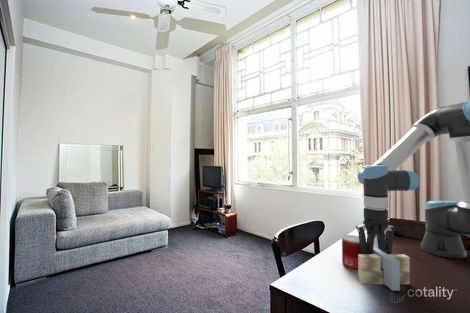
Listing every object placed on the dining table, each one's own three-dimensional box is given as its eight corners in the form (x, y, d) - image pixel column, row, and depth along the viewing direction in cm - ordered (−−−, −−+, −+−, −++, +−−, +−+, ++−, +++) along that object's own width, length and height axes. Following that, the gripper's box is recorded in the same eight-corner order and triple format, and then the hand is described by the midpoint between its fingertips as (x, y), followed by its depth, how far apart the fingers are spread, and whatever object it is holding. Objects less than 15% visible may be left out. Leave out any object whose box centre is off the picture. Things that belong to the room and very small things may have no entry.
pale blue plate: (369, 271, 84) (369, 247, 84) (376, 271, 84) (376, 247, 84) (392, 290, 72) (392, 261, 72) (399, 290, 72) (399, 261, 72)
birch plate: (404, 280, 79) (404, 254, 79) (409, 284, 77) (409, 257, 77) (358, 280, 79) (358, 254, 79) (362, 284, 77) (362, 257, 77)
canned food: (368, 272, 85) (368, 242, 85) (345, 270, 86) (345, 241, 87) (361, 262, 92) (361, 235, 92) (340, 261, 94) (340, 234, 94)
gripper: (389, 205, 86) (390, 268, 86) (348, 205, 86) (349, 268, 86) (404, 210, 79) (405, 278, 78) (359, 210, 79) (360, 278, 78)
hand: (375, 273), depth 82 cm, fingers closed on pale blue plate, 2 cm apart
